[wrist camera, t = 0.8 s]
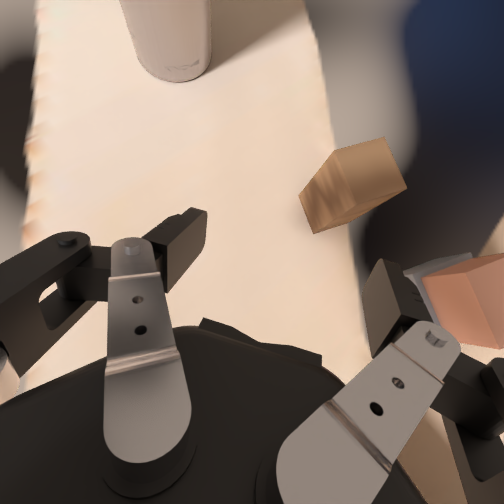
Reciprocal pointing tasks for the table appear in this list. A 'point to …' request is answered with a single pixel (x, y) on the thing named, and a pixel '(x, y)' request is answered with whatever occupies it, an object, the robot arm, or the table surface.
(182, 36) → the robot arm
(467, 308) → the brick block
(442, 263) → the slate block
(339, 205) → the walnut pillar
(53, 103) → the table surface
